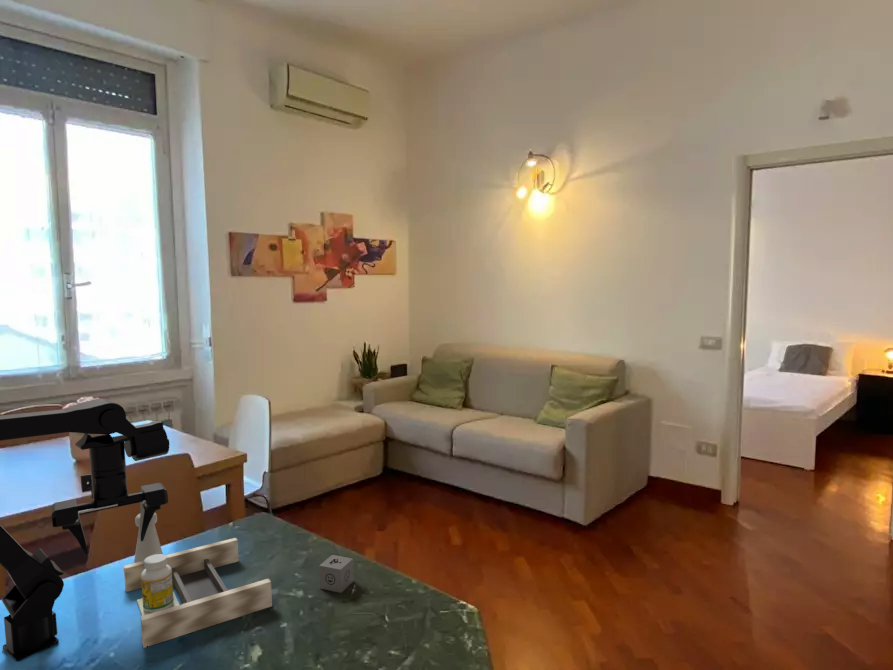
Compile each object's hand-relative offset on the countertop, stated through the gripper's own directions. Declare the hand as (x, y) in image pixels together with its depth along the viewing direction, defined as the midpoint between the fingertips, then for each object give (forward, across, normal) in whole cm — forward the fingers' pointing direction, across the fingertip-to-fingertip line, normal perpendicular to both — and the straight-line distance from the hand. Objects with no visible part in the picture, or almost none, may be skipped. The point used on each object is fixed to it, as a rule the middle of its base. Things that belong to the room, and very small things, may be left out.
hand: (114, 547), depth 113 cm
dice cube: (+14, -38, +15) cm, 43 cm away
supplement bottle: (+13, -6, +3) cm, 15 cm away
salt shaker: (+13, -7, -14) cm, 21 cm away
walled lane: (+13, -14, +3) cm, 20 cm away
